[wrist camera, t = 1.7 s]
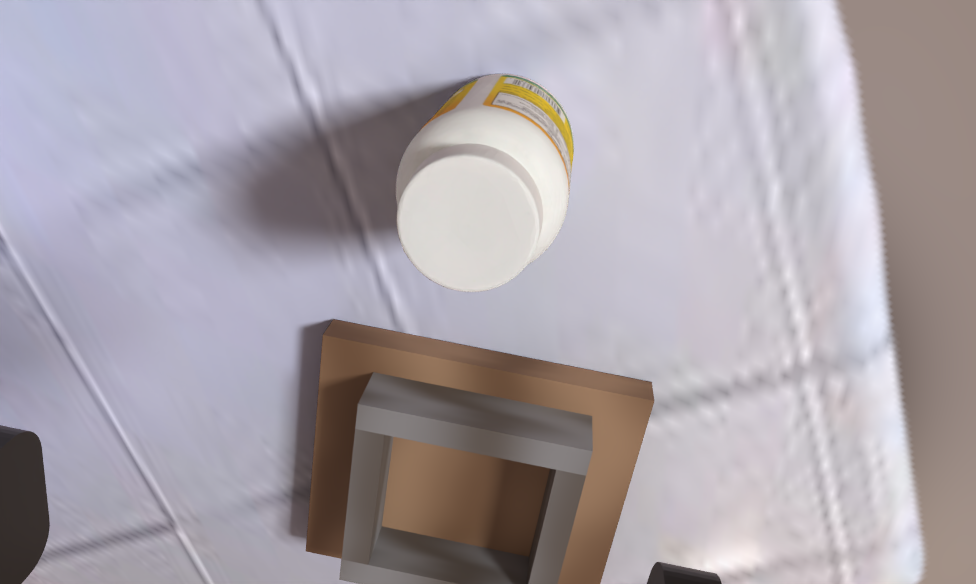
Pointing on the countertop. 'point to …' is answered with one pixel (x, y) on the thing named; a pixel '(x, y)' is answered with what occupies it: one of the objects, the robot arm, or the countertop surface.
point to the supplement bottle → (485, 183)
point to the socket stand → (467, 462)
